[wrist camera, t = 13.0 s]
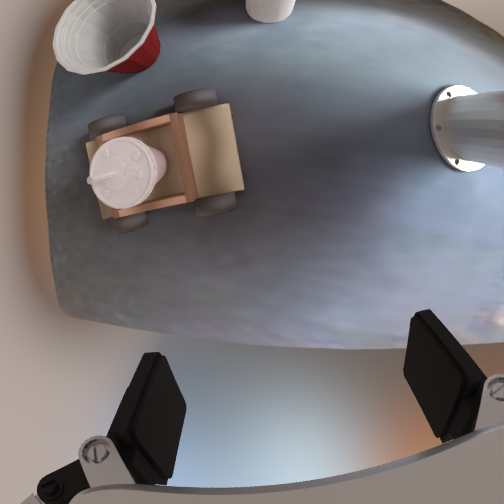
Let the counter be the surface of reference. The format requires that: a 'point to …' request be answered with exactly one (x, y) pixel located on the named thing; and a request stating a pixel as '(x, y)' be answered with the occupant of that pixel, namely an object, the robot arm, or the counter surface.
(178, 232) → the counter surface
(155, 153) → the smoothie
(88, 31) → the plastic cup
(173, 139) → the chassis
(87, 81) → the counter surface
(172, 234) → the counter surface
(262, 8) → the roll
